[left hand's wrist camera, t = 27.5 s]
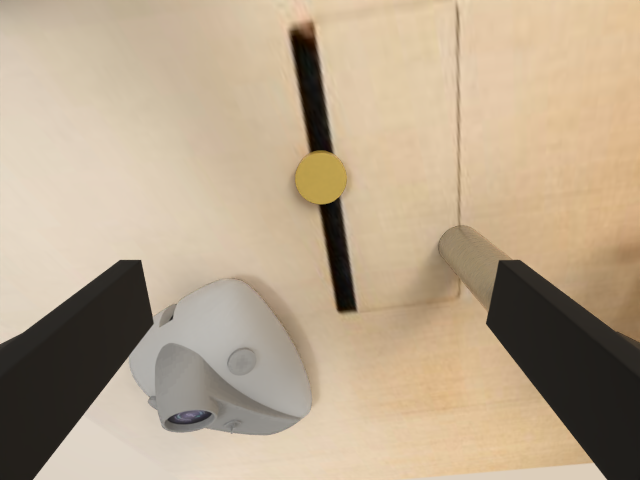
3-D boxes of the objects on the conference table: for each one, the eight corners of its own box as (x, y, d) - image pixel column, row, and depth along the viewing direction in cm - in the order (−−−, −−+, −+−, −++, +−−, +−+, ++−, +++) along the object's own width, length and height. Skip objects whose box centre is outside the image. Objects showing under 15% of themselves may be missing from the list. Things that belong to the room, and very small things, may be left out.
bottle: (484, 253, 41) (575, 332, 26) (446, 269, 41) (513, 354, 27) (472, 218, 39) (562, 282, 25) (433, 235, 40) (497, 307, 25)
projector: (151, 399, 48) (85, 513, 35) (151, 252, 40) (64, 325, 27) (306, 419, 50) (301, 536, 36) (335, 280, 42) (343, 364, 28)
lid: (286, 174, 37) (284, 177, 35) (322, 139, 36) (322, 141, 34) (319, 208, 39) (319, 214, 37) (355, 176, 37) (357, 180, 35)
